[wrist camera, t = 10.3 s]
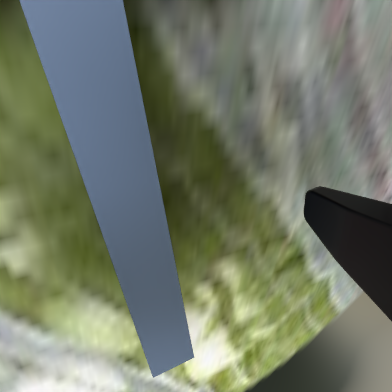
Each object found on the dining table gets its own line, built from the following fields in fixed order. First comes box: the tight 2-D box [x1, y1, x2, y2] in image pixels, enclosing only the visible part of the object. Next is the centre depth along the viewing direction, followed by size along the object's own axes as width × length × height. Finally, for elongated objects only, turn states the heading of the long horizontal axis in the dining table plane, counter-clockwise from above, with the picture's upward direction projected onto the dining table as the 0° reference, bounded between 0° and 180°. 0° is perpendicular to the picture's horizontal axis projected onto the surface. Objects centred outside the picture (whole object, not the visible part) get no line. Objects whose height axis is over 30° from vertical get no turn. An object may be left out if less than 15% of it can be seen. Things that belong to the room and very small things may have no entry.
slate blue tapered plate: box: [19, 0, 194, 377], centre depth 15 cm, size 24×2×8 cm, turn 9°
